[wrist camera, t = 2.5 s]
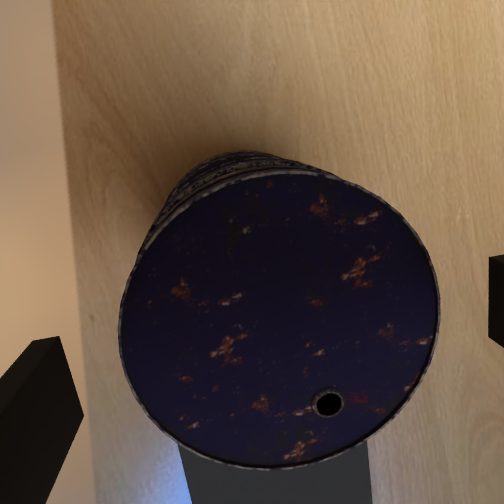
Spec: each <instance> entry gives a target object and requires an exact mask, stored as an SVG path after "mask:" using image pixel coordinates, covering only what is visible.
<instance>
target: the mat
mask: <svg viewBox="0 0 504 504" xmlns="http://www.w3.org/2000/svg"><path fill="white" fill-rule="evenodd" d="M178 447H179V451H180V455H181V459H182V464H183V468H184V472H185V476H186V480H187V484H188V488H189V492H190V496H191V500H192V504H372V493H371V482H370V470H369V459H368V448H367V440H366V441H365V442H363V443H362V444H360V445H359V446H357V447H355V448H353V449H351V450H349V451H347V452H345V453H343V454H341V455H339V456H337V457H335V458H332V459H329V460H326V461H323V462H320V463H317V464H314V465H309V466H304V467H299V468H294V469H286V470H271V471H265V470H249V469H242V468H237V467H232V466H227V465H222V464H220V463H217V462H214V461H211V460H208V459H205V458H203V457H200V456H199V455H197V454H195V453H193V452H191V451H189V450H187V449H185V448H184V447H182V446H180V445H179V444H178Z"/></svg>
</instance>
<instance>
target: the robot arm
mask: <svg viewBox="0 0 504 504" xmlns="http://www.w3.org/2000/svg"><path fill="white" fill-rule="evenodd" d="M488 337H489V338H491V339H492V340H493V341H495V342H496V343H498V344H499V345H500V346H502V347H503V348H504V255H498V256H493V257H489V311H488ZM83 417H84V414H83V411H82V407H81V404H80V401H79V398H78V394H77V391H76V388H75V385H74V382H73V379H72V375H71V372H70V369H69V365H68V362H67V359H66V356H65V353H64V349H63V346H62V343H61V340H60V337H59V336H56V337H51V338H45V339H40V340H34V341H32V342H31V343H30V344H29V346H28V347H27V348H26V349H25V350H24V351H23V352H22V354H21V355H20V356H19V357H18V358H17V360H16V361H15V362H14V363H13V364H12V365H11V366H10V368H9V369H8V370H7V371H6V372H5V374H4V375H3V376H2V377H1V378H0V504H46V501H47V499H48V497H49V494H50V492H51V490H52V488H53V485H54V483H55V481H56V479H57V476H58V474H59V471H60V469H61V467H62V465H63V463H64V460H65V458H66V456H67V454H68V451H69V449H70V447H71V444H72V442H73V440H74V438H75V435H76V433H77V431H78V429H79V426H80V424H81V422H82V419H83Z"/></svg>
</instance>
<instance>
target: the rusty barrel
mask: <svg viewBox="0 0 504 504" xmlns="http://www.w3.org/2000/svg"><path fill="white" fill-rule="evenodd" d="M440 320H441V319H440V293H439V287H438V282H437V276H436V273H435V270H434V267H433V264H432V262H431V259H430V256H429V254H428V251H427V250H426V248H425V246H424V245H423V243H422V241H421V239H420V238H419V236H418V234H417V233H416V231H415V230H414V229H413V228H412V227H411V225H410V224H409V223H408V222H407V221H406V220H405V218H404V217H403V216H402V215H401V214H400V213H399V212H398V211H397V210H395V209H394V208H393V207H392V206H391V205H389V204H388V203H387V202H386V201H384V200H383V199H382V198H381V197H379V196H377V195H375V194H374V193H372V192H370V191H368V190H366V189H365V188H363V187H361V186H359V185H357V184H354V183H351V182H349V181H346V180H343V179H341V178H339V177H338V176H336V175H334V174H332V173H330V172H327V171H324V170H321V169H319V168H316V167H313V166H310V165H307V164H303V163H300V162H298V161H293V160H288V159H283V158H280V157H277V156H274V155H271V154H268V153H263V152H257V151H235V152H228V153H223V154H220V155H217V156H214V157H211V158H209V159H208V160H206V161H204V162H202V163H200V164H199V165H197V166H196V167H195V168H193V169H192V170H190V171H189V172H188V173H187V174H186V175H185V176H184V177H183V178H182V179H181V180H180V181H179V182H178V184H177V185H176V186H175V188H174V189H173V191H172V192H171V194H170V195H169V196H168V198H167V200H166V203H165V205H164V207H163V208H162V210H161V211H160V213H159V214H158V215H157V217H156V218H155V220H154V222H153V224H152V226H151V228H150V230H149V231H148V233H147V235H146V237H145V240H144V242H143V244H142V246H141V248H140V250H139V252H138V255H137V259H136V262H135V265H134V267H133V269H132V271H131V273H130V275H129V278H128V280H127V283H126V286H125V290H124V293H123V297H122V300H121V304H120V312H119V322H118V341H119V354H120V358H121V362H122V366H123V369H124V373H125V377H126V379H127V381H128V384H129V386H130V388H131V390H132V392H133V395H134V397H135V399H136V400H137V401H138V403H139V404H140V406H141V407H142V409H143V410H144V412H145V413H146V415H147V416H148V417H149V418H150V419H151V420H152V421H153V422H154V424H155V425H156V426H157V427H158V428H159V429H160V430H161V431H162V432H163V433H164V434H166V435H167V436H168V437H170V438H171V439H172V440H174V441H175V442H176V443H178V444H179V445H180V446H182V447H184V448H185V449H187V450H189V451H191V452H193V453H195V454H197V455H199V456H200V457H203V458H205V459H208V460H211V461H214V462H217V463H220V464H222V465H227V466H232V467H237V468H242V469H249V470H265V471H271V470H286V469H294V468H299V467H304V466H309V465H314V464H317V463H320V462H323V461H326V460H329V459H332V458H335V457H337V456H339V455H341V454H343V453H345V452H347V451H349V450H351V449H353V448H355V447H357V446H359V445H360V444H362V443H363V442H365V441H366V440H368V439H369V438H371V437H372V436H374V435H375V434H377V433H378V432H379V431H380V430H381V429H382V428H384V427H385V426H386V425H387V424H388V423H389V422H391V421H392V420H393V419H394V418H395V416H396V415H397V414H398V413H399V412H400V411H401V410H402V409H403V408H404V406H405V405H406V404H407V403H408V402H409V400H410V399H411V397H412V396H413V394H414V393H415V391H416V390H417V388H418V387H419V385H420V384H421V382H422V380H423V378H424V376H425V374H426V372H427V369H428V367H429V365H430V363H431V360H432V357H433V354H434V350H435V347H436V344H437V340H438V333H439V326H440Z"/></svg>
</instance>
